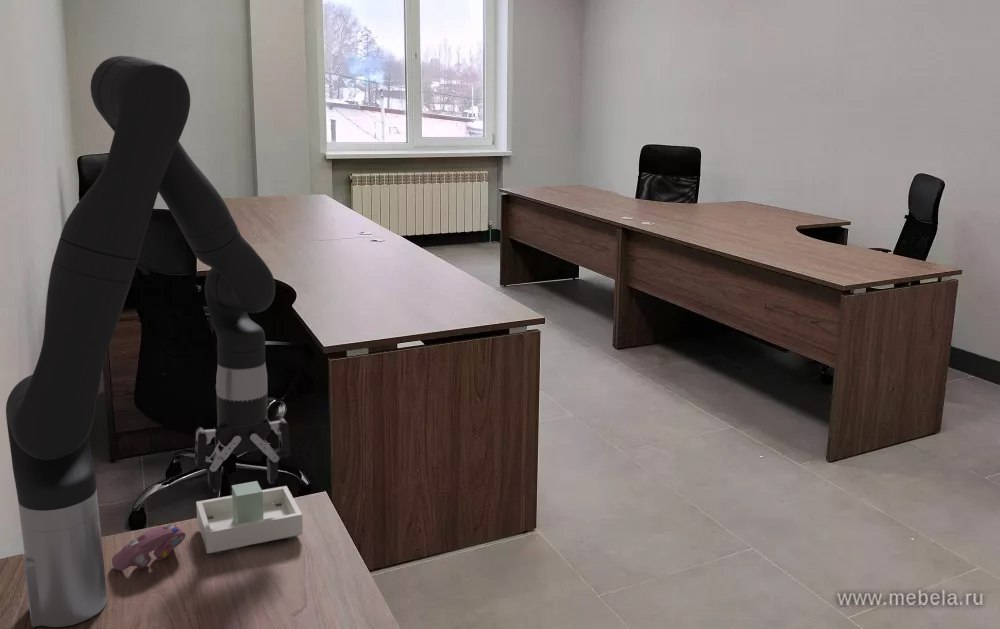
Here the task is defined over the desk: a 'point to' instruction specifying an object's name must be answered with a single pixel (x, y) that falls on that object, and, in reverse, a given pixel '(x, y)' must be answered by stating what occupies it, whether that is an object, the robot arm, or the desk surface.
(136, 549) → the video game controller
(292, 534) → the white planter box
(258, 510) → the sage block
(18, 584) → the desk surface
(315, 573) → the desk surface
